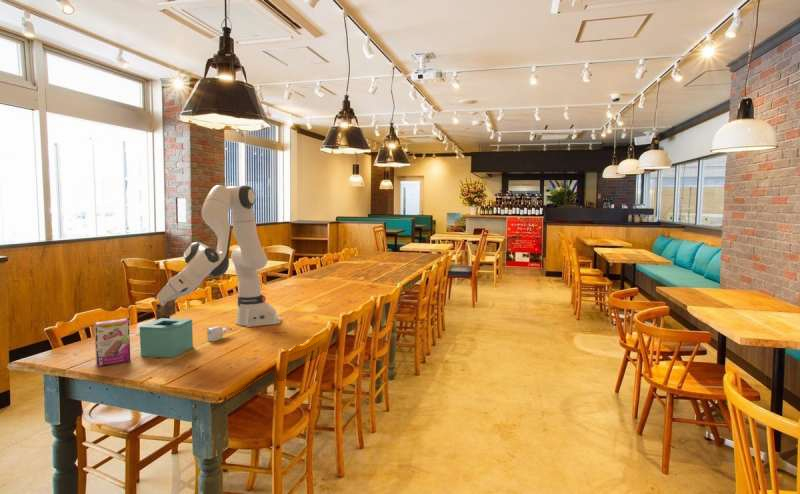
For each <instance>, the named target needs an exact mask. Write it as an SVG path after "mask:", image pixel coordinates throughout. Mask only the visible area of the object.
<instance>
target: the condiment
mask: <svg viewBox="0 0 800 494" xmlns="http://www.w3.org/2000/svg"><path fill="white" fill-rule="evenodd" d="M155 316H156V318H155V321H156V320H158V319H161V318H169V319H171V316H161V312H160V302H158V303H156V309H155Z"/></svg>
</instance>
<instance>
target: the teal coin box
mask: <svg viewBox="0 0 800 494" xmlns="http://www.w3.org/2000/svg"><path fill="white" fill-rule="evenodd" d="M193 339H194V338H193V320H192V319H188V318H170V319H169V318H161V319H158V320H156V319H155V320H153V321H151V322H149V323H145V324H143V325H141V326H139V344H140V348H139V349H140V357H153V358H154V357H156V358H157V357H158V358H176V357H177V356H178V355H180V354H182V353H185V352H186V351H187V350H189V349H192V348H193V347H194V342H193Z"/></svg>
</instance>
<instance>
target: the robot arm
mask: <svg viewBox="0 0 800 494" xmlns="http://www.w3.org/2000/svg"><path fill="white" fill-rule="evenodd" d="M255 202H256V193H255V190H254V189H253V188H252V186H250V185H229V186H224V185H223V184H222V185H221V184H217V185H215V186H213V187H212V188H210V191H209V192H208V194H207V196H206V197H205V199H204V202H203V205H202V208H201V212H200V213H201V218H202V220H203V221H204V223H205V224H206V225H207V226H208V227H210V229H211V230H212V231H213V233H215V235H216V238H217V246H216V250H215V249H213V248H211V247H210V246H208V245H206V244H204V243H202V242H199V241H195V242H192V243H190V244H189V245H188V246H187V247H186V248H185V249H184V251H183V258H184V261H185V263H186V266H185V267H184V268H182V269H181V271H179V272H178V273H177V274H176V275H174V276H172V277H170V278H169V279H168V280H167V283H166V284H165V285H164V286H163V288H161V289H160V291H159V292H158V294H157V295H156V299H157V300H158V301H159V303H160V302H161V303H160V305H161V306H165V305H166V304H167V302H168V301H171V300H174V299H175V301H177V300H178V299H180V298H182V297H184V296H187V295H190V294H191V293H193V292H194V290H196V288H198V287H199V286H200V285H201V284H202V282H203V280H204V279H205V278H206V277H208V276H209V275H210V276H211V277H213V278H214V277H220V276H222V275H225V274H226V272H227V271H228V269H229V265H230V260H229V259H231V261H232V263H233V265H234V270H235V273H236V278H237V287H238V288H237V291H238V295H237V307H238V308H237V309H238V310H237V317H236V321H235V324H236V325H238V326H244V327H248V328H250V327H260V326H261V327H262V326H269V325H278V324H280V323H281V322H282V318H281V316H279V315H278V314H277V311H276V308H275V307H274V306H272V305H271V304H269V303H268V302H266V300H267V298H266V295H264V294H262V281H261V278H260V276H259V274H258V270H262V269H263V268H265V267H266V266H267V263H268V255H267V254H266V253H265V251H264V250H263V246H262V244H261V242H260V239H259V236H258V235H259V234H258V230H257V224H256V223H257V222H256V218H255V217H256V216H255V211H254V209H253V208H254V207H253V206H254V204H255ZM230 210H231V222H232V225H231V222H230V218H229V212H230ZM232 229H233V236H234V239H235V241H236V243H237V244H238V246H239V247H236V248H235V249H234V250H232V252H231V255H230V246H231V239H232ZM229 256H230V257H229Z"/></svg>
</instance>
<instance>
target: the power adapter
mask: <svg viewBox="0 0 800 494" xmlns="http://www.w3.org/2000/svg"><path fill="white" fill-rule="evenodd" d="M231 330H233V328H231V327H230V328H229V327H222V326H219V325H215V326H210V327H208V328H207V331H206V332H207V340H208V341H209V342H216V341H220V340H222V339H223V338H224V337H223V336H224V335H223V334H226V333H229V331H231Z"/></svg>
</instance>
